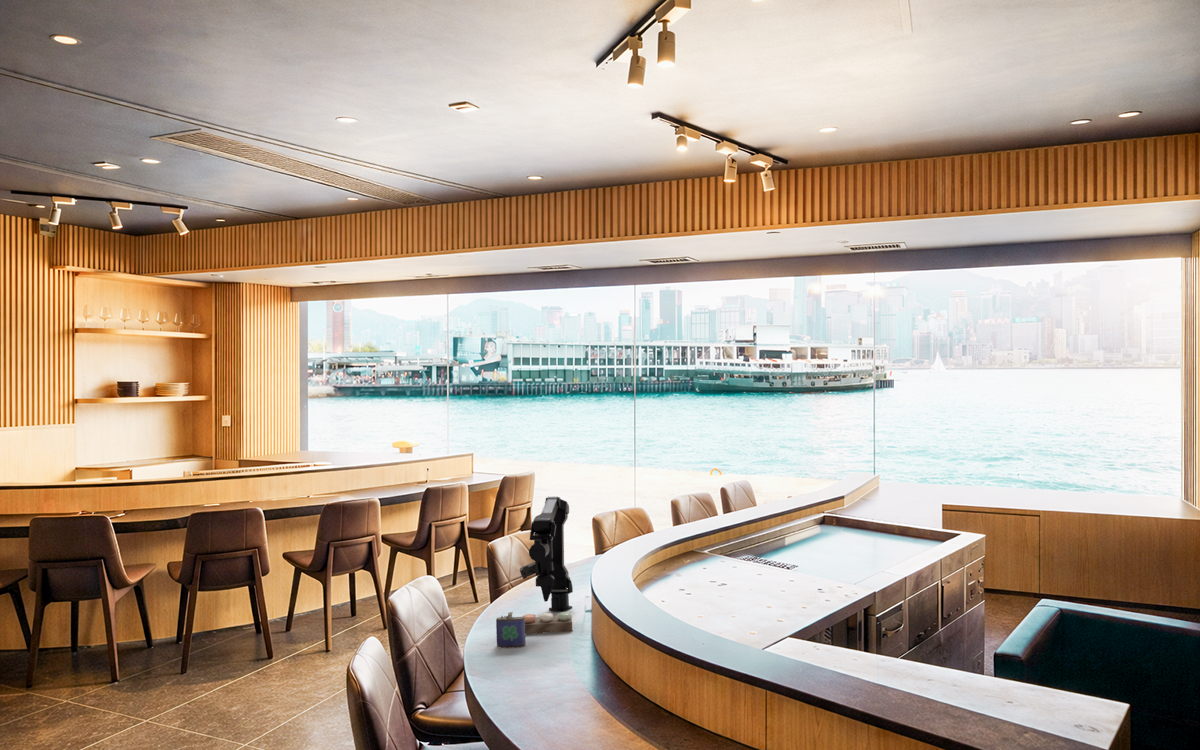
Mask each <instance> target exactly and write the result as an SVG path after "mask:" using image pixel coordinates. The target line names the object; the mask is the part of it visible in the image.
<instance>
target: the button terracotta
mask: <svg viewBox="0 0 1200 750" xmlns="http://www.w3.org/2000/svg"><path fill="white" fill-rule="evenodd" d="M521 617H524V618H525V623H532V622H535V617H536V614H534V613H533V614H530V613H529V614H527V613H526V614H524V615H522V616H521Z"/></svg>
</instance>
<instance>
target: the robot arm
mask: <svg viewBox="0 0 1200 750" xmlns="http://www.w3.org/2000/svg"><path fill="white" fill-rule="evenodd" d="M569 513H570V506H569V503H568V502H567V501H566V500H564V499H561V497H560V496H548V497H546V498H545V502H544V506H543V507H542V511H541V513H539V514H538V515H536V516H535V517H533V521H531V525H530V532H529V533H530V534H529V541H533V542H534V543H533V544H532V545H531V546H530V548H529V550H528V555H529V558H530V559H531V560H532V562H531V563H529V564H526V565H524V566H521V567H520V568H519V573H520V576H521V577H522V579H523V580H525V579H527V578H529V577H530V576H533V575H535V576H536V577H535V587H540V589H541V593H542V598H543V601H544V602H548V601H549V599H550V595H551V599H550V602H551V607H548V611H555V612H558V613H561V612H566V611H568V610H570V609H572V608H573V606H572V605H570V602H569V599H570V598H569V596H570V595H569V594H571V593H574V590H573V582H572V579H571V577H570V575H569V571H568V569H567V568H566V566H565V548H564V547H565V542H564V541H565V537H564V536H565V535H564V533H565V532H564V525H565V524H566V521H568V517H569V516H568V515H569ZM533 561H534V562H533Z"/></svg>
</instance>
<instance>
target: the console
mask: <svg viewBox="0 0 1200 750" xmlns="http://www.w3.org/2000/svg"><path fill="white" fill-rule="evenodd" d="M572 617H573V616H571V619H570V620H565V621H562V620H558V615H555V616H554V615H553V620H552V621H549V622H543V621H540V616H537V617H536V616H535V622H532V623H525V635H530V634H529V633H536V634H544V633H543V632H551V633H562V632H564V633H566V631H567V632H573V618H572Z"/></svg>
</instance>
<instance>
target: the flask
mask: <svg viewBox="0 0 1200 750" xmlns="http://www.w3.org/2000/svg"><path fill="white" fill-rule="evenodd" d="M513 613H514V612H513V611H510V612H509V611H508V612H507V614H508V615H504V616H503V615H501V616H500V617H499V616H498V617H496V619H495V623H496V624H495V629H496V647H497V648H498V647H501V648H502V649H504V648H503V647H506V649H510V648H512V647H513V648H521V647H525V646H526V634H525V618H524V617H522V616H514V617H513ZM509 647H510V648H509ZM501 648H500V649H501Z"/></svg>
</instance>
